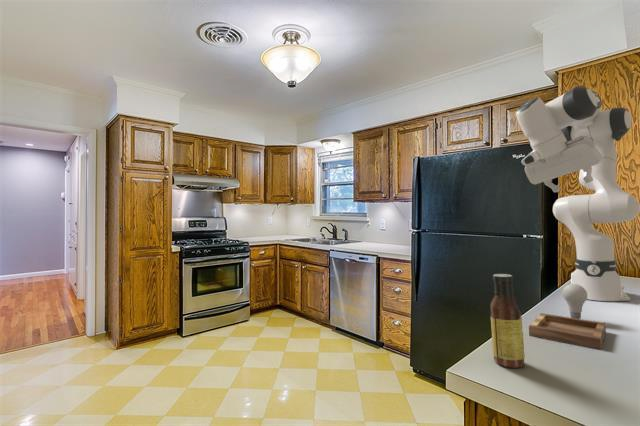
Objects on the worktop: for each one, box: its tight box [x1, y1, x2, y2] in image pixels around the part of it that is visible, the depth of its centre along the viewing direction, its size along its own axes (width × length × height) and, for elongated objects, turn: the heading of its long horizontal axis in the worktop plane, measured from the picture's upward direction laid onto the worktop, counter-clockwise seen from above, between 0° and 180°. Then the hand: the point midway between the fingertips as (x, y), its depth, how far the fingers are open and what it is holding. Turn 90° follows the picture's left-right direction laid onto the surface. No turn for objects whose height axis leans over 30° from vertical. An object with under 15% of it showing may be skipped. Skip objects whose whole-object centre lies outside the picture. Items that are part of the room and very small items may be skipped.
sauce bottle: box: [489, 273, 526, 369], centre depth 76 cm, size 7×6×20 cm
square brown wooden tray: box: [528, 313, 607, 350], centre depth 92 cm, size 15×15×2 cm
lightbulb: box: [562, 283, 588, 319], centre depth 103 cm, size 6×6×11 cm
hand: (573, 186), depth 105 cm, fingers open, 8 cm apart
